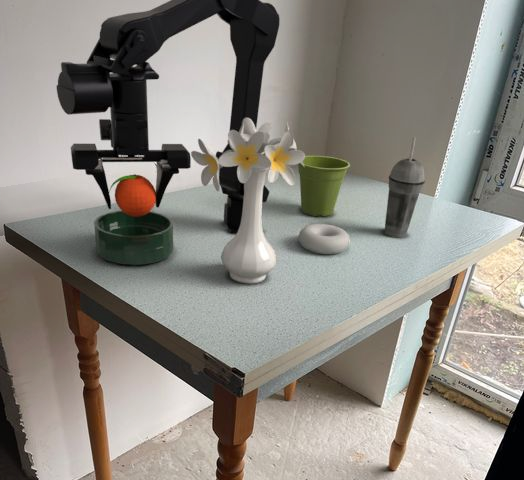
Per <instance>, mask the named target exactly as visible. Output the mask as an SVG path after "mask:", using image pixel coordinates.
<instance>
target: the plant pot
mask: <svg viewBox="0 0 524 480" xmlns="http://www.w3.org/2000/svg"><path fill="white" fill-rule="evenodd" d="M303 164H304V167H303V166H302V165H301V164H300V163H299V164H297V166H298V167H297V168H298V174H299V187H300V208H301V211H302V213H304V214H306V215H310V216H312V217H318V216H322V217H329V216H331V215H333V213H334V211H335V208H336V203H337V201H338V197H339V193H340V191H341V187H342V184H343V181H344V178H346V173H347V171H348V169H349V168H350V167H351V163H350V162H349V161H347V160H345V159H341V158H338V157H332V156H325V155H305V158H304V160H303Z"/></svg>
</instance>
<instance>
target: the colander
mask: <svg viewBox="0 0 524 480" xmlns="http://www.w3.org/2000/svg"><path fill="white" fill-rule="evenodd" d="M93 226H94V239H95V250H96V254H97V255H98V256H100V258H102V259H104V260H106V261H108V262H112V263H114V264H115V263H116V264H122V265H133V266H135V265H136V266H137V265H138V266H139V265H148V264H154V263H158V262H162V261H164V260H166V259H167V258H169V257H171V256H172V254H173V252H174V222H173V220H172V219H171V218H170V217H169V216H167V215H165V214H162V213H159V212H155V211H152V210H151V211H150V212H149V213H147V214H146V215H144V216H139V217H134V216H130V215H127V214H126V213H124V212H123V211H122V210H121V209H120V210H114V211H110V212H107V213H103V214H101V215H100V216H98V217H96V218H95V220H94V222H93ZM139 237H147V238H148V241H149V245H132V242H131V238H139Z"/></svg>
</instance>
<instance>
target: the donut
mask: <svg viewBox="0 0 524 480" xmlns="http://www.w3.org/2000/svg"><path fill="white" fill-rule="evenodd" d="M350 238H351V237H350V236H349V234H348V233H347V231H345V230H344V229H342V228H341V227H338V226H336V225H331V224H326V223H314V224H309V225H306V226H305V227H303V228H301V230H300V231H299V234H298V241H299V243H300V245H301V246H302V247H303V248H304V249H306V250H308V251H310V252H313V253H315V254H322V255H334V254H339V253H342V252H344V251H345V250H347V248H348V247H349V245H350V240H351V239H350Z"/></svg>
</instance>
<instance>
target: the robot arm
mask: <svg viewBox="0 0 524 480" xmlns="http://www.w3.org/2000/svg"><path fill="white" fill-rule="evenodd" d="M215 15H217V16H218V18H219V19H220V20H221V21H223V22H225V23H226V25H229V37H230V39H229V40H230V42H231V46H232V48H233V52H234V55H235V70H234V81H233V91H232V101H231V112H230V122H229V131H231V130H235V131H237V132H239V131H240V128H241V126H242V121H243V119H244V118H250V119H251V120H252V121H253V123H254V125H255V128H256V129H257V126H258V118H259V109H260V102H261V101H260V100H261V91H262V84H263V74H264V69H265V68H264V67H265V63H266V61H267V59H268V57H270V54H271V53H272V52H273V49H274V48H275V45H276V42H277V37H278V33H279V29H280V14H279V13H278V11H277V9H276V8H275V6H274V5H273V4H272V3H269V2H264V1H261V0H169V1H167V2H165V3H162V4H160V5H158V6H156V7H154V8H152V9H149V10H145V11H138V12H137V11H136V12H130V13H124V14H119V15H115V16H111V17H108V18H106V19H105V20H103V22H102V23H101V25H100V32H99V38H98V40H97V42H96V44H95V45H94V47H93V49H92V51H91V53H90V54H89V57H88V58H87V60H86V63H74V62H70V61H62V62H61V63H60V66H61V68H60V69H61V71H60V73H59V74H58V78H57V85H56V95H57V98H58V102H59V105H60V107H61V109H62V110H63V112H64V113H65V114H66V115H84V114H98V113H106V112H107V111H108V110H109V108H110V112H109V113H110V119H109V118H108V119H107V118H104V119H103V118H99V119H98V124H99V126H98V127H99V136H100V140H101V141H110V147H111V148H112V149H97V145H96V143H72V145H71V146H70V156H71V163H72V169H73V170H76V171H77V170H78V171H83V170H84V171H85V175H87V176H92V177H93V178H94V180H95V182H96V184H97V186H98V187H99V189H100V191H101V193H102V196H103V198H104V201H105V203H106V205H107V208H108V209H109V210H112V200H111V195H110V192H109V191H110V189H109V185H108V181H107V180H108V179H107V176H106V172H105V168H104V164H103V163H156V181H155V192H156V203H155V208H160V205H161V203H162V200H163V197H164V195H165V192H166V190H167V188H168V185H169V184H170V181H171V180H172V178H173V176H174V175H177V174H180V170H181V169H183V170H186V169H187V170H189V169H191V165H192V163H191V162H192V161H191V160H192V156H191V152H190V151H189V150H188V149H187V148H186V146H184V144H182V143H162V144H161V149H150V143H149V117H148V116H149V115H148V113H149V112H148V86H147V83H148V82H147V81H148V80H149V81H152V80H159V79H160V74H158V72H156V70H154V69H153V67H152V66H151V64H150V62H148V60H149V59H150V58H152V57H153V56H154V55H156V54H157V53H158V52H159V51H160V50H161V48H162V46H163V45H164V44H165V42H167V40H169V39H170V38H173V36H175V35H178V34H179V33H182V32H184V31H185V30H187V29H189V28H191V27H193V26H196V25H198V24H199V23H201V22H203V21H206V20H207V19H209V18H211V17H213V16H215ZM227 150H233V149H232V148H231V147H230V145H229V144H228V143H227V144H226V145H225V147H224V149H223V150H222V151H219V150H217V151H216V153H215V156H216V157H217V158H218V159H219V158H220V157H221V155H222V154H223V153H224V152H225V151H227ZM220 166H221V165H220ZM238 166H239V165H238ZM238 166H232V167H224V166H223V167H222V168H220V169H219V187H220V190H221V194H223V195H226V196H227V198H226V202H225V203H224V206H223V207H224V208H223V224H224V225H225V226H226V227H227V229H228V231H229V232H230V233H233V234H237V232H238V230H239V227H240V223H241V218H242V211H243V200H244V183H241V182H240V181H239V180H238V176H237V169H238ZM269 196H270V189H268V187H267V186H266V185H265V184H264V187H263V197H262V204H263V203H266V202H267V201H268V198H269Z"/></svg>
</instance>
